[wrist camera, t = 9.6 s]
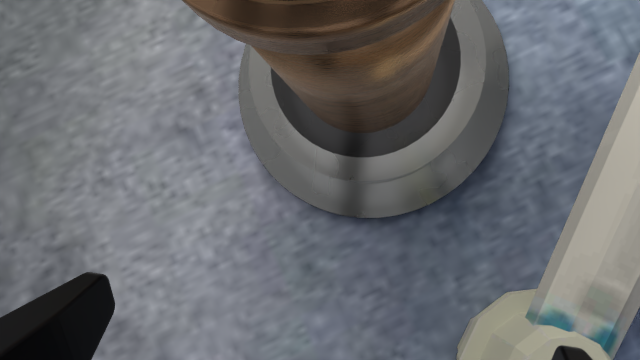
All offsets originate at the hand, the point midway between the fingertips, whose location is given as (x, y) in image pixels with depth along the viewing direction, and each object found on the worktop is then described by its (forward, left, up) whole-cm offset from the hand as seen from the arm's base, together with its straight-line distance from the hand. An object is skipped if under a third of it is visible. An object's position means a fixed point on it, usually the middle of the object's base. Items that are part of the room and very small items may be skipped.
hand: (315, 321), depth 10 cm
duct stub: (+7, +4, -13) cm, 15 cm away
